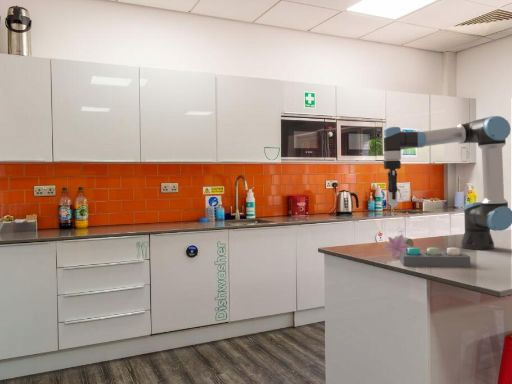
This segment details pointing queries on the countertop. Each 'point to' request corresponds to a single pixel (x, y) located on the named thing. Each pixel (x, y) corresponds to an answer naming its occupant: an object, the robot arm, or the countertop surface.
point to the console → (435, 260)
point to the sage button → (433, 251)
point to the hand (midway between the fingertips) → (392, 205)
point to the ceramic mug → (406, 241)
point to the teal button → (413, 251)
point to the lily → (396, 245)
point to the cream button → (453, 251)
